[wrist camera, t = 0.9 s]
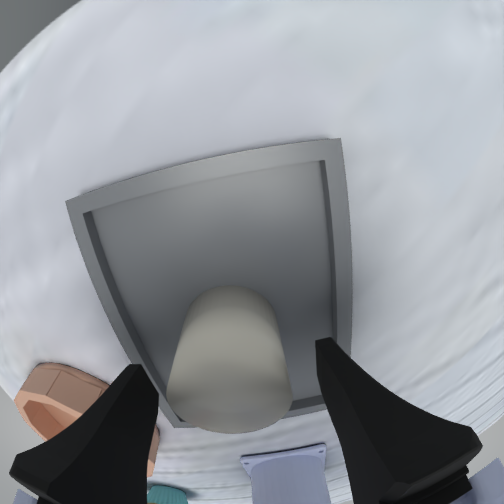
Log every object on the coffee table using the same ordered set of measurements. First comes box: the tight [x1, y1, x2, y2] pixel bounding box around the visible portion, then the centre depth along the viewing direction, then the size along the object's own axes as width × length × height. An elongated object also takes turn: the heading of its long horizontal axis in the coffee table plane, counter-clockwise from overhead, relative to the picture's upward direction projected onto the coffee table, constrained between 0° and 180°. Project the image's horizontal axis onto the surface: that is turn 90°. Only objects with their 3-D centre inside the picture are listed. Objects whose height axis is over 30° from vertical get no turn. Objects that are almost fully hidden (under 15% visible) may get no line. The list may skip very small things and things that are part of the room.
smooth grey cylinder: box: [166, 285, 293, 434], centre depth 11 cm, size 5×5×5 cm
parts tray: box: [65, 138, 352, 428], centre depth 13 cm, size 16×12×1 cm
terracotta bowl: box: [14, 363, 160, 477], centre depth 16 cm, size 13×13×4 cm
